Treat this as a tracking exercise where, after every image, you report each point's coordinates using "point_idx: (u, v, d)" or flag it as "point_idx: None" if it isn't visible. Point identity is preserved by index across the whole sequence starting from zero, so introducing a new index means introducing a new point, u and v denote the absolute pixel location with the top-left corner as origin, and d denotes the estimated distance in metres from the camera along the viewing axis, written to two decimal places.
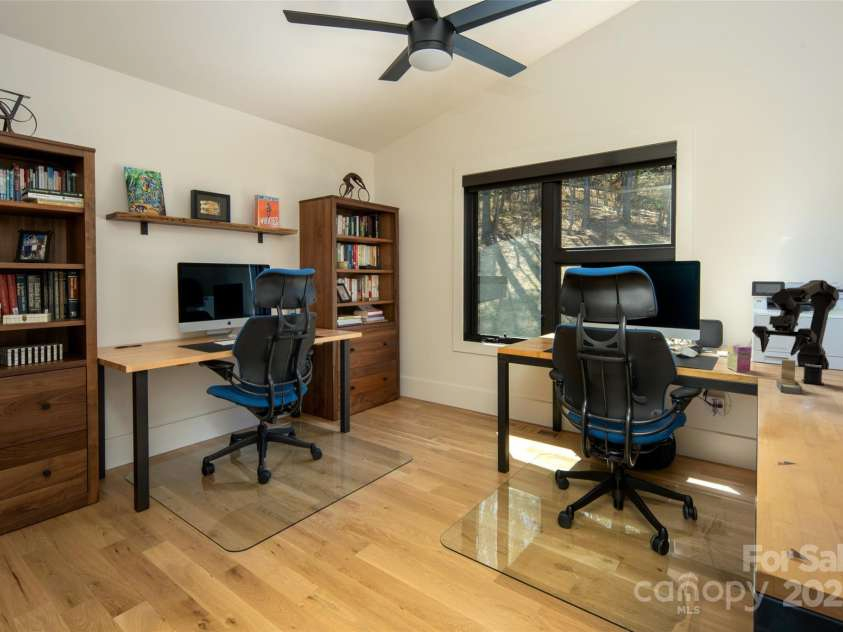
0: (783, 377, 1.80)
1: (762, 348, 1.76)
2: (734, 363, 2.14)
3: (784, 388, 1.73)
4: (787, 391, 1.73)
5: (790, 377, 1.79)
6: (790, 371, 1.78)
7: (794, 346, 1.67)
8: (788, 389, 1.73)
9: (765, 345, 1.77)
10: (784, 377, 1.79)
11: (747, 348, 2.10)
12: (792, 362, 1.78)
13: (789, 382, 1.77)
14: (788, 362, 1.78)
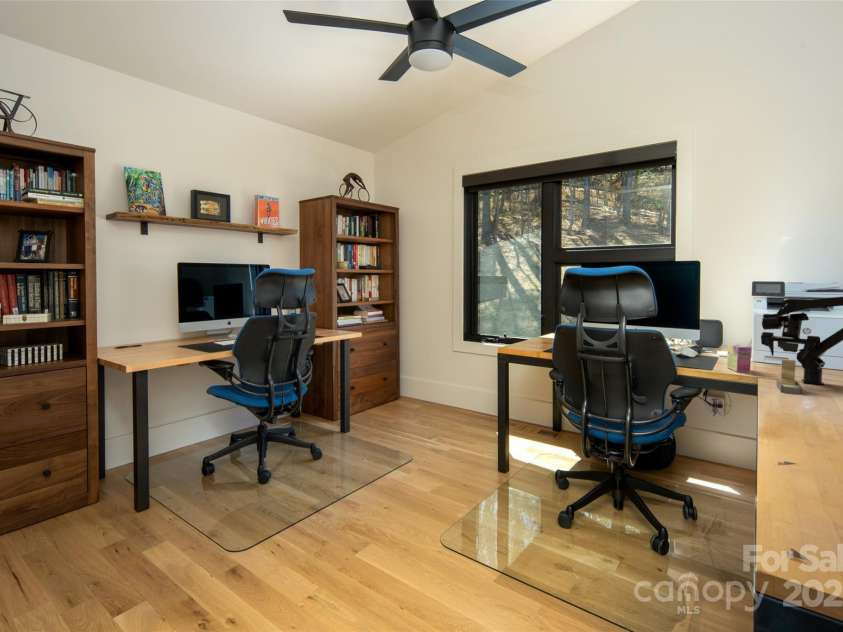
0: (783, 377, 1.80)
1: None
2: (734, 363, 2.14)
3: (784, 388, 1.73)
4: (787, 391, 1.73)
5: (790, 377, 1.79)
6: (790, 371, 1.78)
7: None
8: (788, 389, 1.73)
9: None
10: (784, 377, 1.79)
11: (747, 348, 2.10)
12: (792, 362, 1.78)
13: (789, 382, 1.77)
14: (788, 362, 1.78)
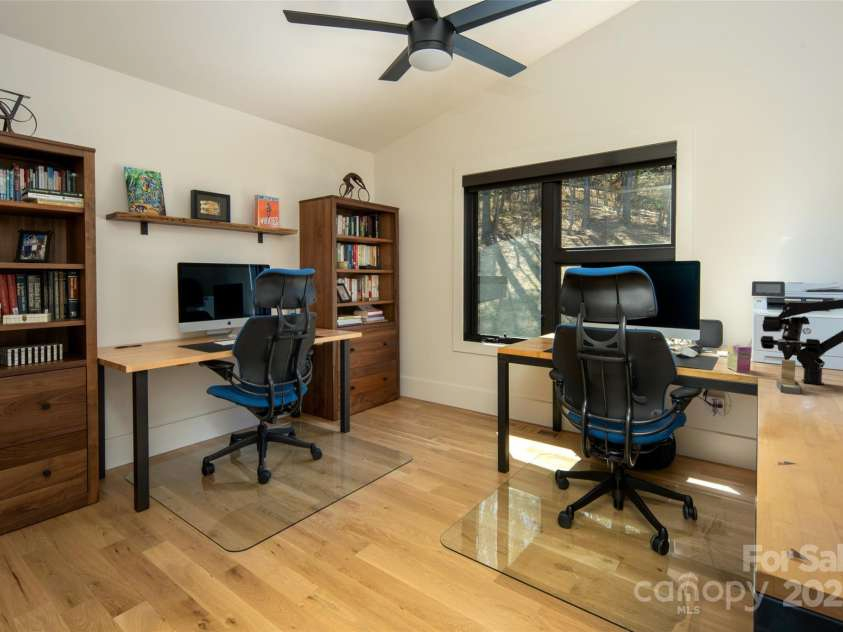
0: (783, 377, 1.80)
1: None
2: (734, 363, 2.14)
3: (784, 388, 1.73)
4: (787, 391, 1.73)
5: (790, 377, 1.79)
6: (790, 371, 1.78)
7: None
8: (788, 389, 1.73)
9: None
10: (784, 377, 1.79)
11: (747, 348, 2.10)
12: (792, 362, 1.78)
13: (789, 382, 1.77)
14: (788, 362, 1.78)
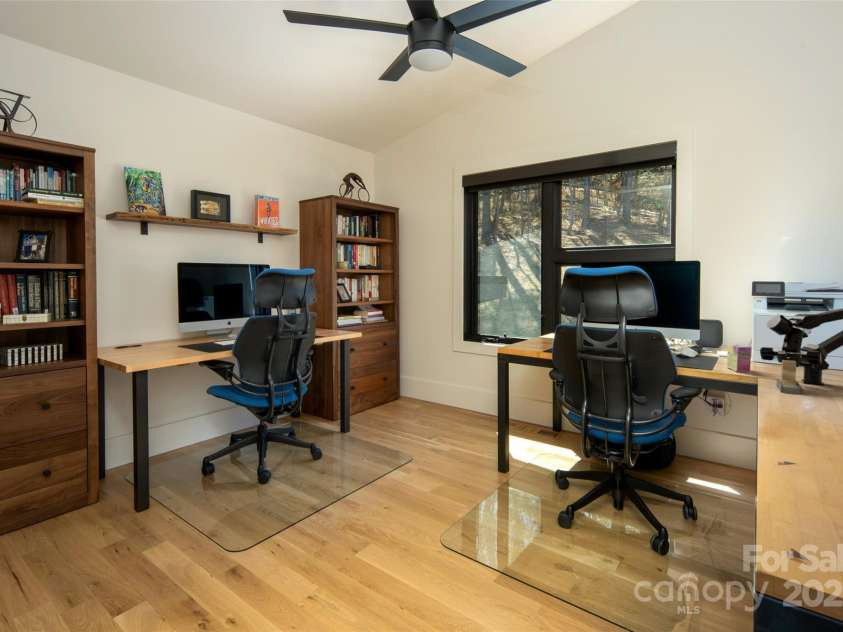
0: (784, 378, 1.78)
1: None
2: (734, 363, 2.14)
3: (784, 388, 1.73)
4: (787, 391, 1.73)
5: (791, 378, 1.77)
6: (791, 372, 1.77)
7: None
8: (788, 389, 1.73)
9: None
10: (785, 378, 1.78)
11: (747, 348, 2.10)
12: (793, 363, 1.76)
13: (790, 383, 1.76)
14: (789, 363, 1.77)
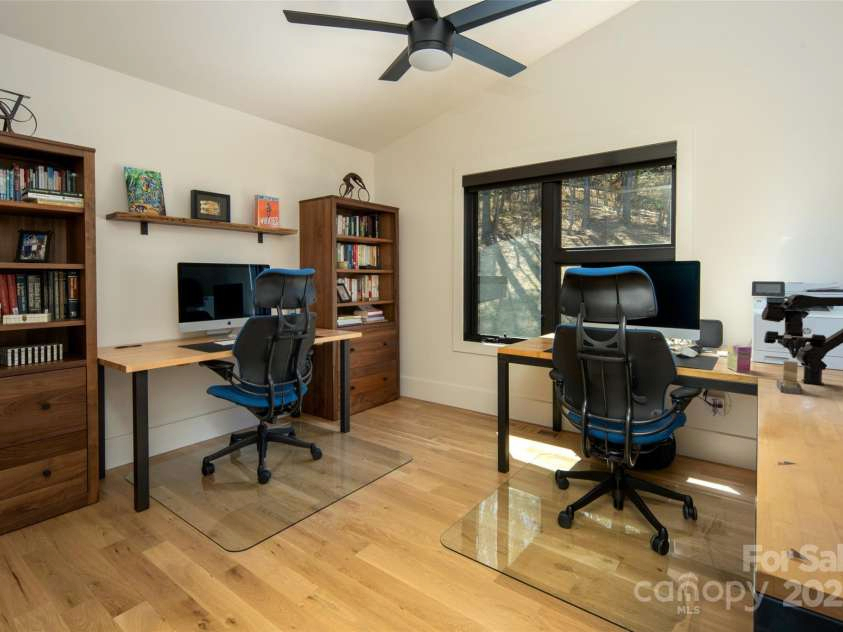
0: (785, 379, 1.77)
1: None
2: (734, 363, 2.14)
3: (784, 388, 1.73)
4: (787, 391, 1.73)
5: (792, 379, 1.76)
6: (792, 373, 1.75)
7: None
8: (788, 389, 1.73)
9: (795, 350, 1.82)
10: (786, 379, 1.76)
11: (747, 348, 2.10)
12: (794, 363, 1.75)
13: (791, 384, 1.74)
14: (790, 363, 1.76)
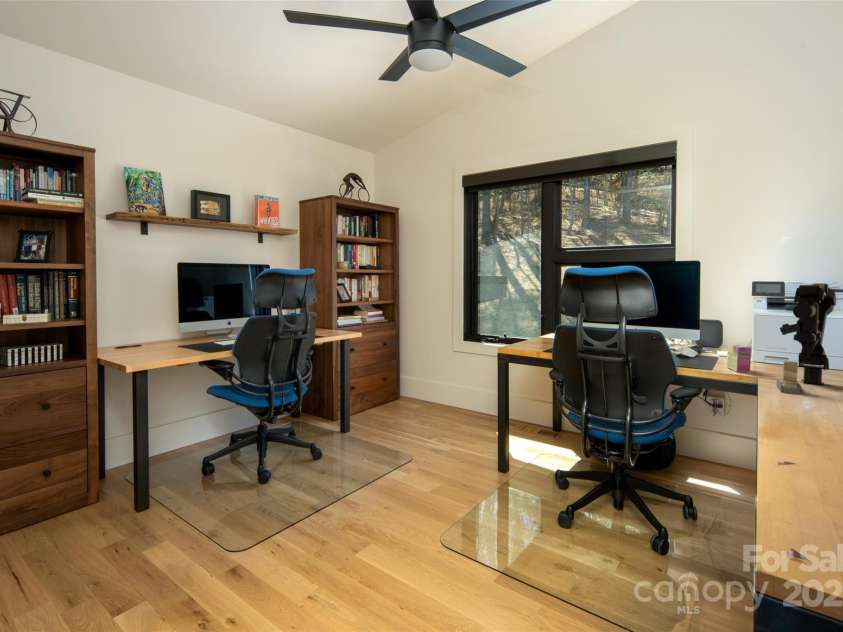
0: (785, 379, 1.77)
1: None
2: (734, 363, 2.14)
3: (784, 388, 1.73)
4: (787, 391, 1.73)
5: (792, 379, 1.76)
6: (792, 373, 1.75)
7: (802, 349, 1.79)
8: (788, 389, 1.73)
9: None
10: (786, 379, 1.76)
11: (747, 348, 2.10)
12: (794, 363, 1.75)
13: (791, 384, 1.74)
14: (790, 363, 1.76)
